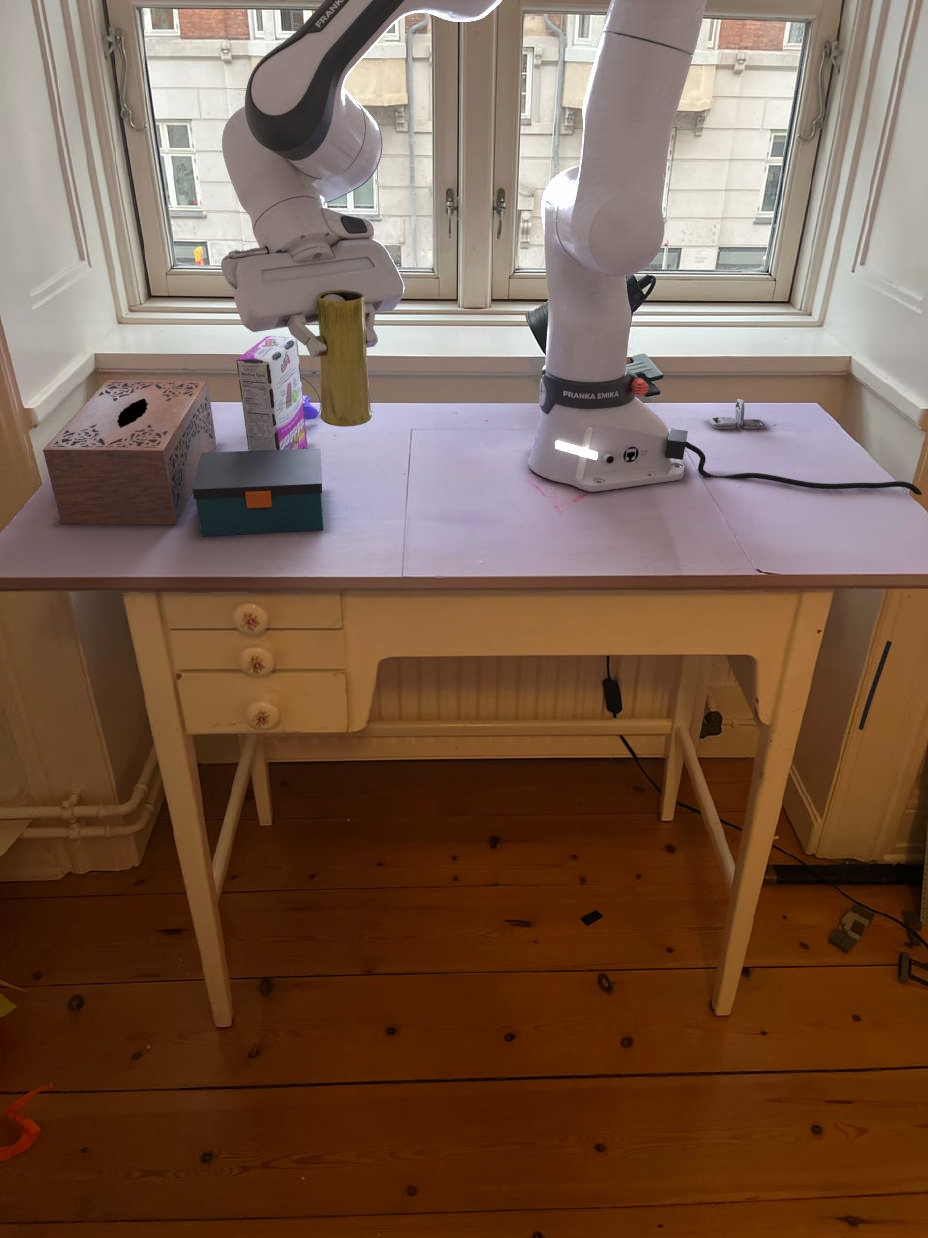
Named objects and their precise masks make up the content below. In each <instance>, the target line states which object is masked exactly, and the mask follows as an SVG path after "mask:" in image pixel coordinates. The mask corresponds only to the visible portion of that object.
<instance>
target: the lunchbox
mask: <svg viewBox="0 0 928 1238" xmlns="http://www.w3.org/2000/svg"><path fill="white" fill-rule="evenodd" d="M321 452H322V451H321V448H320V447H313V448H311V447H310V448H304V449H284V450H259V451H249V450H237V451H235V450H234V451H214V452H208V453H201V455H200V460H199V464H198V468H197V472H196V477H195V481H194V485H193V489H192V490H193V493H192V496H193V500H195V503H196V509H197V517H198V521H199V528H200V534H201V537H216V536H236V535H237V536H238V535H254V534H255V535H256V534H257V535H258V534H273V533H275V534H276V533H294V532H313V531H316V532H317V531H324V512H323V511H324V510H323V476H322V475H323V474H322V453H321Z"/></svg>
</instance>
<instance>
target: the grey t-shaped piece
mask: <svg viewBox="0 0 928 1238" xmlns="http://www.w3.org/2000/svg"><path fill="white" fill-rule="evenodd" d="M745 403H746V402H745V400H744V399H742V398H737V399H736V402H735V411H734V413H735V415H734V417H735V418H734V417H731V416H715V417H711V418H710V419H709V424H710V425H711V426H712V427H713V428H714V429H719V430H733V429H736V428H737V427H738V426H739V427H741V428H742V429H746V430H747V429H749V430H751V429H752V430H759V429H763V428H765V427H766V424H765V423H764V422H763V421H762V420H761V419H745ZM757 423H758V424H757Z"/></svg>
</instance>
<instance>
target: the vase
mask: <svg viewBox="0 0 928 1238" xmlns="http://www.w3.org/2000/svg"><path fill="white" fill-rule="evenodd" d="M329 294H335V295H338V296H340V297H342V298H343V299H344V300H345V301H330V300H324V299H323V298H324V297H325V296H326V295H329ZM317 302H318V322H317V323H318V332H319V335H318V336H320V335H322V337H323V339H324V343H325V344H326V346H327V351H326V352H325V355H324V356H319V358H320V359H319V360H320V361H319V362H320V367H319V368H320V369H319V371H320V373H319V374H320V402H321V409H320V415H319V417H320V420H321V421H322V422H323V423H325V424H327V425H330V426H333V427H342V428H343V427H356V426H361V425H364V424H366V423H368V422H370V420H371V419H372V417H373V413H372V408H371V407H372V406H371V394H370V381H369V372H368V371H369V370H368V369H369V368H368V358H367V354H368V353H367V351H368V350H367V349H368V348H366V319H365V300H364V295H363V294H362V293H359V292H356V291H347V290H334V291H326V292H322V293H320V294H319V295H318V296H317Z"/></svg>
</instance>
